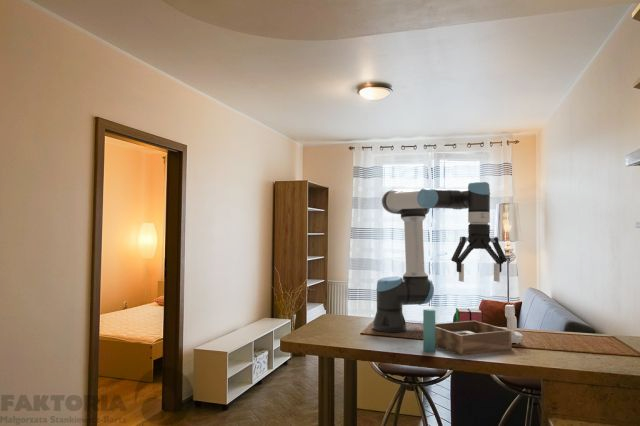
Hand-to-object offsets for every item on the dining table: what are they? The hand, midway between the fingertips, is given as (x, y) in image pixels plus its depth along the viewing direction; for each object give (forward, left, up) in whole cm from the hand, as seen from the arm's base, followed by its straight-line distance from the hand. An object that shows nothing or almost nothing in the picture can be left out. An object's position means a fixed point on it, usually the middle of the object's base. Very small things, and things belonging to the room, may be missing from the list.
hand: (479, 281), depth 157 cm
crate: (-11, +4, -26) cm, 29 cm away
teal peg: (-10, -15, -26) cm, 32 cm away
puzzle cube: (-29, +20, -27) cm, 44 cm away
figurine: (-9, +24, -27) cm, 37 cm away
